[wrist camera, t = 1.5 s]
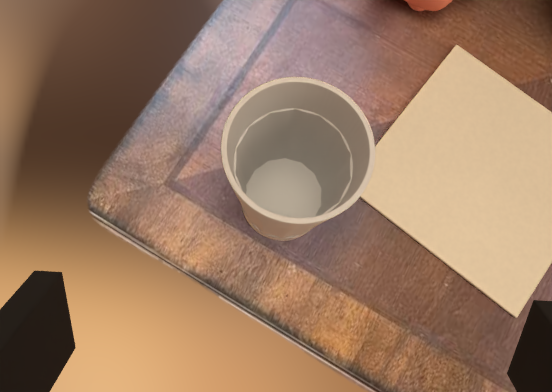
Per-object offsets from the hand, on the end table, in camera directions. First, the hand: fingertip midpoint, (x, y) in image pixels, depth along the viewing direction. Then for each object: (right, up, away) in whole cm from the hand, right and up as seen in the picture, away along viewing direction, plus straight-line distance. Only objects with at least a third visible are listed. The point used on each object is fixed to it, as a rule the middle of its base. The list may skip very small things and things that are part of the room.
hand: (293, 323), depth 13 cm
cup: (0, +3, +22) cm, 22 cm away
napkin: (+16, +5, +24) cm, 29 cm away
